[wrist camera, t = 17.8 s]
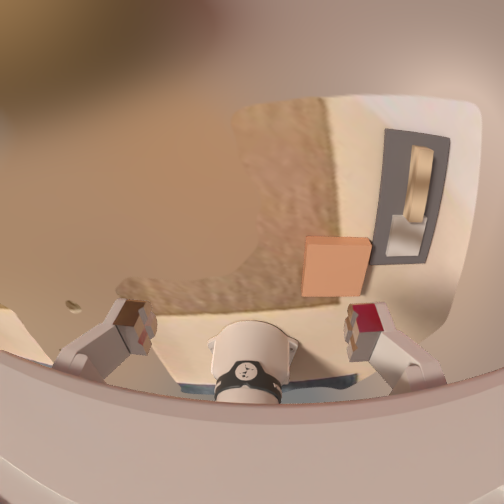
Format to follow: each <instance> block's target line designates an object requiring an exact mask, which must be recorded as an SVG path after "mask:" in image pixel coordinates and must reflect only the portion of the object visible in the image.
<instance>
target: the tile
mask: <svg viewBox="0 0 504 504" xmlns="http://www.w3.org/2000/svg"><path fill="white" fill-rule="evenodd" d="M371 248H372V245H371V243H370V241H369V239H368V238H359V237H322V236H306V243H305V253H304V264H303V273H302V283H301V291H302V297H332V296H360V293H361V289H362V285H363V281H364V277H365V274H366V270H367V265H368V261H369V257H370V253H371Z"/></svg>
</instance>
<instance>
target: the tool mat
mask: <svg viewBox="0 0 504 504" xmlns="http://www.w3.org/2000/svg"><path fill="white" fill-rule="evenodd" d="M449 144H450V138H447V137H442V136H436V135H430V134H424V133H417V132H410V131H403V130H394V129H385V138H384V153H383V165H382V176H381V185H380V194H379V202H378V209H377V216H376V223H375V229H374V235H373V241H372V248H371V253H370V258H369V265H386V264H415V263H425V261H426V258H427V254H428V251H429V247H430V244H431V240H432V236H433V232H434V228H435V224H436V220H437V216H438V211H439V206H440V202H441V197H442V191H443V186H444V180H445V174H446V168H447V160H448V153H449ZM412 145H416V146H424V147H427V148H429V149H431V150H433V151H434V153H433V162H432V170H431V177H430V183H429V189H428V195H427V201H426V206H425V211H424V216H426V217H427V221H426V226H425V230H424V234H423V239H422V243H421V246H420V250H419V254H418V256H389V257H387V256H386V249H387V244H388V239H389V234H390V228H391V222H392V216H393V215H403V212H404V206H405V200H406V193H407V186H408V179H409V171H410V162H411V152H412Z"/></svg>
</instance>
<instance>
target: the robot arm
mask: <svg viewBox="0 0 504 504" xmlns="http://www.w3.org/2000/svg"><path fill="white" fill-rule="evenodd" d="M152 308H153V307H152V305H151V302H149V301H144V300H134V299H122V298H118V299H117V300H116V301H115V303H114V304H113V306H112V308H111V309H110V311H109V313H108V315H107V316H106V318H105V320H104V322H103V324H102V323H100V324H98V325H97V326H95V327H93V328H92V329H90V330H89V331H88V332H86V333H84V334H83V335H82V336H80V337H78V338H77V339H75V340H74V341H72V342H71V343H69V344H68V345H66V346H65V347H64V348H62V350H61V351H60V353H59V355H58V357H57V358H56V360H55V362H54V364H53V366H52V368H49V367H46V366H43V365H40V364H38V363H35V362H32V361H29V360H27V359H24V358H22V357H19V356H17V355H14V354H12V353H9V352H7V351H4V350H0V504H504V367H503V368H500V369H497V370H495V371H492V372H488V373H485V374H482V375H479V376H476V377H472V378H469V379H465V380H462V381H458V382H454V383H450V384H447V382H446V379H445V377H444V374H443V371H442V369H441V366H440V363H439V361H438V360H437V359H436V358H434V357H433V356H432V355H431V354H429V353H428V352H427V351H426V350H424V349H423V348H422V347H420V346H419V345H418V344H417V343H415V342H414V341H413V340H412V339H410V338H409V337H408V336H407V335H405V334H404V333H403V332H402V331H400V330H396V327H395V325H394V322H393V319H392V317H391V314H390V312H389V309H388V307H387V305H386V303H385V302H374V303H356V304H350V305H349V306H348V310H347V312H348V317H347V318H346V319H345V323H344V338H345V341H346V342H347V343H348V347H347V353H348V358H349V362H361V361H369V363H370V364H371V365H372V366H373V367H374V368H375V370H376V371H377V372H378V373H379V374H380V375H381V376H382V377H383V379H385V381H386V382H387V383H388V384H389V385H390V387H391V388H392V389H393V390H392V391H391V393H390V394H389V396H384V397H377V398H369V399H360V400H350V401H339V402H324V403H304V404H303V403H302V404H280V403H281V398H282V391H281V386H282V384H288V383H289V377H290V372H289V367H290V365H291V362H292V360H293V358H294V355H295V353H296V351H297V348H298V341H297V340H295V339H292V338H290V337H287V336H286V335H285V334H284V333H283V332H282V331H281V330H279V329H278V328H276V327H275V326H273V325H270V324H267V323H264V322H259V321H241V322H236V323H233V324H231V325H228V326H227V327H225V328H224V329H223V330H222V331H221V332H220V333H219V334H218V335H217V336H215V337H213V338H211V339H209V340H208V347H209V349H210V351H211V352H212V354H213V358H212V366H211V373H212V374H213V376H214V378H215V379H216V380H217V382H216V386H215V401H208V400H198V399H189V398H181V397H174V396H167V395H160V394H154V393H148V392H143V391H137V390H132V389H127V388H122V387H118V386H113V385H109V384H107V383H106V382H105V381H104V379H105V378H106V377H107V376H108V375H109V374H110V373H111V372H112V371H113V370H115V369H116V368H117V367H118V366H119V365H120V364H121V363H122V362H123V361H124V360H125V359H126V358H127V357H129V356H130V354H136V355H145V356H147V355H148V353H149V350H150V348H151V345H152V343H151V341H150V339H152V338H153V337H154V336H155V334H156V332H157V319H156V316H155V315H154V314H153V313H152V312H151V310H152Z"/></svg>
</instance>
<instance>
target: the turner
mask: <svg viewBox="0 0 504 504" xmlns="http://www.w3.org/2000/svg"><path fill="white" fill-rule="evenodd" d="M433 153H434V151H433V150H431V149H429V148H427V147H424V146H416V145H412V152H411V162H410V171H409V179H408V186H407V193H406V200H405V206H404V212H403V215H393V216H392V222H391V228H390V234H389V239H388V244H387V249H386V256H387V257H389V256H418V254H419V250H420V246H421V243H422V239H423V234H424V230H425V226H426V221H427V217H426V216H424V211H425V206H426V201H427V195H428V189H429V183H430V177H431V170H432V162H433Z"/></svg>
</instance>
